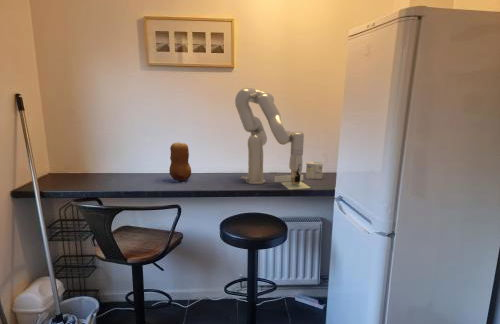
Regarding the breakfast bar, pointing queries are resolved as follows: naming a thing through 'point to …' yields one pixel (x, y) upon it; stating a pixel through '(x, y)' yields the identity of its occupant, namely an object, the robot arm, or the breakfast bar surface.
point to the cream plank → (285, 178)
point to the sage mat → (295, 185)
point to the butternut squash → (179, 162)
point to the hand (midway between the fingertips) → (295, 180)
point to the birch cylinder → (294, 177)
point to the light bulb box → (314, 170)
